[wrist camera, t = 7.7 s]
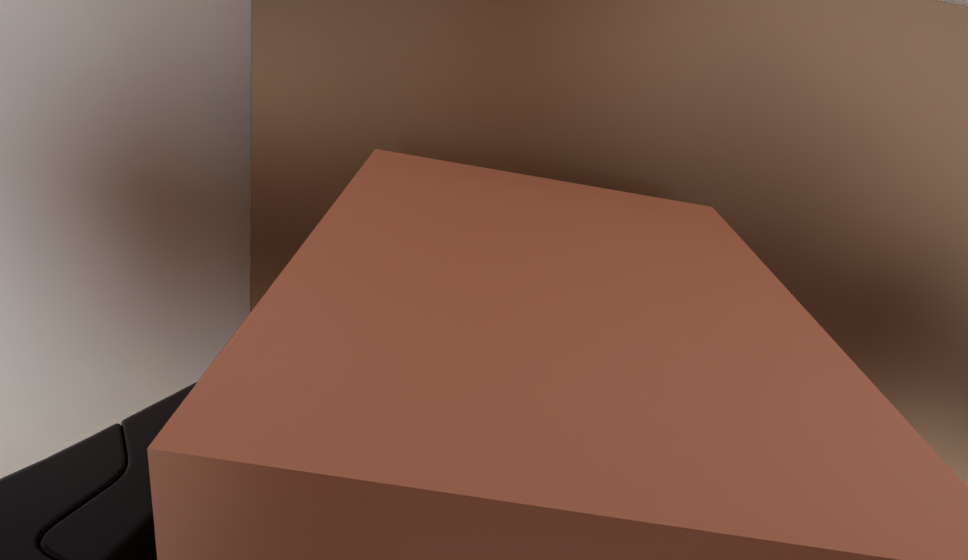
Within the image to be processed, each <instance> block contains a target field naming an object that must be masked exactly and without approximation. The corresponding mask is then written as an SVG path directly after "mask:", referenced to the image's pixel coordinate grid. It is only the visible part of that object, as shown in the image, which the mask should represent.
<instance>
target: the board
mask: <svg viewBox="0 0 968 560" xmlns="http://www.w3.org/2000/svg"><path fill="white" fill-rule="evenodd" d="M375 149H379V150H385V151H391V152H396V153H402V154H408V155H414V156H420V157H425V158H431V159H437V160H443V161H449V162H454V163H460V164H466V165H472V166H478V167H483V168H489V169H495V170H501V171H507V172H512V173H518V174H524V175H530V176H536V177H541V178H547V179H553V180H559V181H565V182H570V183H576V184H582V185H588V186H594V187H599V188H605V189H611V190H617V191H623V192H628V193H634V194H640V195H646V196H652V197H657V198H663V199H669V200H675V201H681V202H686V203H692V204H698V205H704V206H710V207H713V208H714V209H715V210H716V211H717V213H718V214H719V215H720V216H721V217H722V218H723V219H724V220H725V221H726V222H727V224H728V225H729V226H730V227H731V228H732V229H733V230H734V231H735V232H736V233H737V235H738V236H739V237H740V238H741V239H742V240H743V241H744V242H745V243H746V244H747V246H748V247H749V248H750V249H751V250H752V251H753V252H754V253H755V254H756V255H757V257H758V258H759V259H760V260H761V261H762V262H763V263H764V264H765V265H766V266H767V268H768V269H769V270H770V271H771V272H772V273H773V274H774V275H775V276H776V277H777V279H778V280H779V281H780V282H781V283H782V284H783V285H784V286H785V287H786V288H787V289H788V291H789V292H790V293H791V294H792V295H793V296H794V297H795V298H796V299H797V300H798V302H799V303H800V304H801V305H802V306H803V307H804V308H805V309H806V310H807V311H808V313H809V314H810V315H811V316H812V317H813V318H814V319H815V320H816V321H817V322H818V324H819V325H820V326H821V327H822V328H823V329H824V330H825V331H826V332H827V333H828V335H829V336H830V337H831V338H832V339H833V340H834V341H835V342H836V343H837V344H838V346H839V347H840V348H841V349H842V350H843V351H844V352H845V353H846V354H847V355H848V357H849V358H850V359H851V360H852V361H853V362H854V363H855V364H856V365H857V366H858V368H859V369H860V370H861V371H862V372H863V373H864V374H865V375H866V376H867V377H868V379H869V380H870V381H871V382H872V383H873V384H874V385H875V386H876V387H877V388H878V390H879V391H880V392H881V393H882V394H883V395H884V396H885V397H886V398H887V399H888V400H889V402H890V403H891V404H892V405H893V406H894V407H895V408H896V409H897V410H898V411H899V413H900V414H901V415H902V416H903V417H904V418H905V419H906V420H907V421H908V422H909V424H910V425H911V426H912V427H913V428H914V429H915V430H916V431H917V432H918V433H919V435H920V436H921V437H922V438H923V439H924V440H925V441H926V442H927V443H928V444H929V446H930V447H931V448H932V449H933V450H934V451H935V452H936V453H937V454H938V455H939V457H940V458H941V459H942V460H943V461H944V462H945V463H946V464H947V465H948V466H949V468H950V469H951V470H952V471H953V472H954V473H955V474H956V475H957V476H958V477H959V479H960V480H961V481H962V482H963V483H964V484H965V485H966V486H967V487H968V7H966V6H961V5H956V4H950V3H945V2H940V1H935V0H252V12H251V272H250V313H251V311H252V310H253V309H254V308H255V306H256V305H257V304H258V302H259V301H260V300H261V298H262V297H263V296H264V294H265V293H266V292H267V290H268V289H269V288H270V286H271V285H272V284H273V283H274V281H275V280H276V279H277V277H278V276H279V275H280V273H281V272H282V271H283V269H284V268H285V267H286V265H287V264H288V263H289V262H290V260H291V259H292V258H293V256H294V255H295V254H296V252H297V251H298V250H299V248H300V247H301V246H302V244H303V243H304V242H305V241H306V239H307V238H308V237H309V235H310V234H311V233H312V231H313V230H314V229H315V227H316V226H317V225H318V223H319V222H320V221H321V220H322V218H323V217H324V216H325V214H326V213H327V212H328V210H329V209H330V208H331V206H332V205H333V204H334V202H335V201H336V200H337V199H338V197H339V196H340V195H341V193H342V192H343V191H344V189H345V188H346V187H347V185H348V184H349V183H350V181H351V180H352V179H353V178H354V176H355V175H356V174H357V172H358V171H359V170H360V168H361V167H362V166H363V164H364V163H365V162H366V160H367V159H368V158H369V157H370V155H371V154H372V153H373V151H374V150H375Z"/></svg>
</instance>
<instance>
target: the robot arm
mask: <svg viewBox="0 0 968 560" xmlns="http://www.w3.org/2000/svg"><path fill="white" fill-rule="evenodd" d="M196 384H197V382H196V383H194V384H192V385H190V386H188V387H186V388H184V389H182V390H180V391H178V392H177V393H175V394H173V395H171V396H169V397H167V398H165V399H163V400H161V401H159V402H157V403H155V404H153V405H151V406H149V407H147V408H145V409H143V410H142V411H140V412H138V413H136V414H134V415H132V416H130V417H128V418H126V419H124V420H123V421H122V422H121V425H120V424H114V425H112V426H110V427H108V428H106V429H104V430H102V431H100V432H98V433H96V434H94V435H93V436H91V437H89V438H87V439H85V440H83V441H80V442H78V443H76V444H74V445H72V446H70V447H68V448H66V449H64V450H62V451H60V452H58V453H56V454H54V455H52V456H50V457H48V458H46V459H44V460H41V461H39V462H37V463H35V464H32V465H30V466H28V467H26V468H23V469H21V470H19V471H17V472H15V473H12V474H10V475H8V476H6V477H3V478H1V479H0V560H157V551H156V540H155V529H154V518H153V507H152V496H151V485H150V474H149V462H148V451H147V448H148V447H149V445H150V444H151V443H152V441H153V440H154V439H155V437H156V436H157V435H158V434H159V432H160V431H161V430H162V428H163V427H164V426H165V424H166V423H167V422H168V420H169V419H170V418H171V416H172V415H173V414H174V413H175V411H176V410H177V409H178V407H179V406H180V405H181V403H182V402H183V401H184V399H185V398H186V397H187V395H188V394H189V393H190V392H191V390H192V389H193V388H194V386H195V385H196Z"/></svg>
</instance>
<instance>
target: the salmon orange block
mask: <svg viewBox="0 0 968 560" xmlns="http://www.w3.org/2000/svg"><path fill="white" fill-rule="evenodd" d="M147 451H148V462H149V474H150V485H151V496H152V507H153V518H154V529H155V540H156V551H157V560H968V487H967V486H966V485H965V484H964V483H963V482H962V481H961V480H960V479H959V477H958V476H957V475H956V474H955V473H954V472H953V471H952V470H951V469H950V468H949V466H948V465H947V464H946V463H945V462H944V461H943V460H942V459H941V458H940V457H939V455H938V454H937V453H936V452H935V451H934V450H933V449H932V448H931V447H930V446H929V444H928V443H927V442H926V441H925V440H924V439H923V438H922V437H921V436H920V435H919V433H918V432H917V431H916V430H915V429H914V428H913V427H912V426H911V425H910V424H909V422H908V421H907V420H906V419H905V418H904V417H903V416H902V415H901V414H900V413H899V411H898V410H897V409H896V408H895V407H894V406H893V405H892V404H891V403H890V402H889V400H888V399H887V398H886V397H885V396H884V395H883V394H882V393H881V392H880V391H879V390H878V388H877V387H876V386H875V385H874V384H873V383H872V382H871V381H870V380H869V379H868V377H867V376H866V375H865V374H864V373H863V372H862V371H861V370H860V369H859V368H858V366H857V365H856V364H855V363H854V362H853V361H852V360H851V359H850V358H849V357H848V355H847V354H846V353H845V352H844V351H843V350H842V349H841V348H840V347H839V346H838V344H837V343H836V342H835V341H834V340H833V339H832V338H831V337H830V336H829V335H828V333H827V332H826V331H825V330H824V329H823V328H822V327H821V326H820V325H819V324H818V322H817V321H816V320H815V319H814V318H813V317H812V316H811V315H810V314H809V313H808V311H807V310H806V309H805V308H804V307H803V306H802V305H801V304H800V303H799V302H798V300H797V299H796V298H795V297H794V296H793V295H792V294H791V293H790V292H789V291H788V289H787V288H786V287H785V286H784V285H783V284H782V283H781V282H780V281H779V280H778V279H777V277H776V276H775V275H774V274H773V273H772V272H771V271H770V270H769V269H768V268H767V266H766V265H765V264H764V263H763V262H762V261H761V260H760V259H759V258H758V257H757V255H756V254H755V253H754V252H753V251H752V250H751V249H750V248H749V247H748V246H747V244H746V243H745V242H744V241H743V240H742V239H741V238H740V237H739V236H738V235H737V233H736V232H735V231H734V230H733V229H732V228H731V227H730V226H729V225H728V224H727V222H726V221H725V220H724V219H723V218H722V217H721V216H720V215H719V214H718V213H717V211H716V210H715V209H714V208H713V207H710V206H704V205H698V204H692V203H686V202H681V201H675V200H669V199H663V198H657V197H652V196H646V195H640V194H634V193H628V192H623V191H617V190H611V189H605V188H599V187H594V186H588V185H582V184H576V183H570V182H565V181H559V180H553V179H547V178H541V177H536V176H530V175H524V174H518V173H512V172H507V171H501V170H495V169H489V168H483V167H478V166H472V165H466V164H460V163H454V162H449V161H443V160H437V159H431V158H425V157H420V156H414V155H408V154H402V153H396V152H391V151H385V150H379V149H375V150H374V151H373V153H372V154H371V155H370V157H369V158H368V159H367V160H366V162H365V163H364V164H363V166H362V167H361V168H360V170H359V171H358V172H357V174H356V175H355V176H354V178H353V179H352V180H351V181H350V183H349V184H348V185H347V187H346V188H345V189H344V191H343V192H342V193H341V195H340V196H339V197H338V199H337V200H336V201H335V202H334V204H333V205H332V206H331V208H330V209H329V210H328V212H327V213H326V214H325V216H324V217H323V218H322V220H321V221H320V222H319V223H318V225H317V226H316V227H315V229H314V230H313V231H312V233H311V234H310V235H309V237H308V238H307V239H306V241H305V242H304V243H303V244H302V246H301V247H300V248H299V250H298V251H297V252H296V254H295V255H294V256H293V258H292V259H291V260H290V262H289V263H288V264H287V265H286V267H285V268H284V269H283V271H282V272H281V273H280V275H279V276H278V277H277V279H276V280H275V281H274V283H273V284H272V285H271V286H270V288H269V289H268V290H267V292H266V293H265V294H264V296H263V297H262V298H261V300H260V301H259V302H258V304H257V305H256V306H255V308H254V309H253V310H252V311H251V313H250V314H249V315H248V317H247V318H246V319H245V321H244V322H243V323H242V325H241V326H240V327H239V329H238V330H237V331H236V332H235V334H234V335H233V336H232V338H231V339H230V340H229V342H228V343H227V344H226V346H225V347H224V348H223V350H222V351H221V352H220V353H219V355H218V356H217V357H216V359H215V360H214V361H213V363H212V364H211V365H210V367H209V368H208V369H207V371H206V372H205V373H204V374H203V376H202V377H201V378H200V380H199V381H198V382H197V384H196V385H195V386H194V388H193V389H192V390H191V392H190V393H189V394H188V395H187V397H186V398H185V399H184V401H183V402H182V403H181V405H180V406H179V407H178V409H177V410H176V411H175V413H174V414H173V415H172V416H171V418H170V419H169V420H168V422H167V423H166V424H165V426H164V427H163V428H162V430H161V431H160V432H159V434H158V435H157V436H156V437H155V439H154V440H153V441H152V443H151V444H150V445H149V447H148V448H147Z"/></svg>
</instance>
